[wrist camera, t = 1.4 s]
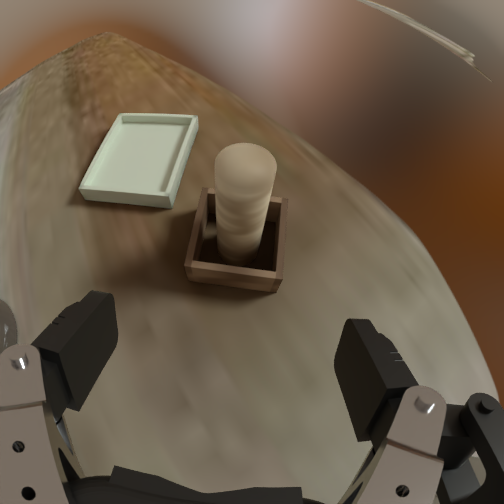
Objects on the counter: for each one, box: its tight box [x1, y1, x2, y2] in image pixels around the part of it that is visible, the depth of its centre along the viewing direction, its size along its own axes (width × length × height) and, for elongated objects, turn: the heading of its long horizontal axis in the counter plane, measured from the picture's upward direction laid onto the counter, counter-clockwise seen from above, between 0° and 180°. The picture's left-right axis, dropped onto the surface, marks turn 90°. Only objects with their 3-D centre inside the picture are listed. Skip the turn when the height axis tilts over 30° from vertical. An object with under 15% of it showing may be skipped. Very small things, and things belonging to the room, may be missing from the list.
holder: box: [184, 188, 288, 293], centre depth 28 cm, size 8×8×4 cm
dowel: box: [215, 143, 277, 267], centre depth 24 cm, size 4×4×12 cm
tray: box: [79, 113, 198, 209], centre depth 33 cm, size 11×13×2 cm
